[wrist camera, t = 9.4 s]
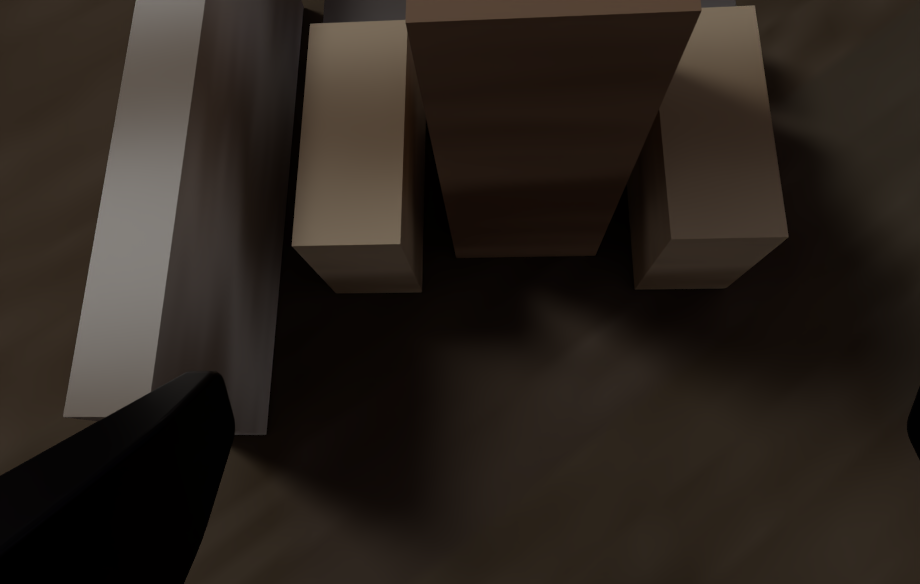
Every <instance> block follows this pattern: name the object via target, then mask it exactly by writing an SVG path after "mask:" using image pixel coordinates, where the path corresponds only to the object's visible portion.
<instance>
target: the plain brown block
mask: <svg viewBox="0 0 920 584" xmlns="http://www.w3.org/2000/svg"><path fill="white" fill-rule="evenodd" d="M701 11H702V9H701V0H406V19H405V23H406V28H407V33H408V37H409V42H410V46H411V51H412V56H413V60H414V65H415V70H416V74H417V79H418V83H419V88H420V93H421V97H422V102H423V107H424V111H425V116H426V121H427V125H428V130H429V134H430V139H431V144H432V148H433V153H434V158H435V162H436V167H437V171H438V176H439V181H440V185H441V190H442V195H443V199H444V204H445V209H446V213H447V218H448V222H449V227H450V232H451V236H452V241H453V246H454V250H455V255H456V258H492V257H550V256H595V255H596V253H597V251H598V248H599V246H600V244H601V242H602V239H603V237H604V235H605V232H606V230H607V228H608V225H609V223H610V221H611V219H612V216H613V214H614V212H615V209H616V207H617V205H618V202H619V200H620V198H621V196H622V193H623V191H624V189H625V186H626V184H627V182H628V179H629V177H630V175H631V172H632V170H633V168H634V166H635V163H636V161H637V159H638V156H639V154H640V152H641V149H642V147H643V145H644V143H645V140H646V138H647V136H648V133H649V131H650V129H651V126H652V124H653V122H654V120H655V117H656V115H657V113H658V110H659V108H660V106H661V103H662V101H663V99H664V96H665V94H666V92H667V90H668V87H669V85H670V83H671V80H672V78H673V76H674V73H675V71H676V69H677V67H678V64H679V62H680V60H681V57H682V55H683V53H684V50H685V48H686V46H687V44H688V41H689V39H690V37H691V34H692V32H693V30H694V27H695V25H696V23H697V20H698V18H699V16H700V14H701Z"/></svg>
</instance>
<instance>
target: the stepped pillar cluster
mask: <svg viewBox="0 0 920 584" xmlns="http://www.w3.org/2000/svg"><path fill="white" fill-rule="evenodd" d="M303 9H304V6H303V4H302V1H301V0H136V3H135V9H134V15H133V21H132V26H131V32H130V38H129V43H128V49H127V55H126V61H125V66H124V72H123V78H122V83H121V89H120V95H119V101H118V106H117V112H116V118H115V123H114V129H113V135H112V141H111V146H110V152H109V158H108V163H107V169H106V175H105V181H104V186H103V192H102V198H101V203H100V209H99V215H98V221H97V226H96V232H95V238H94V244H93V249H92V255H91V261H90V266H89V272H88V278H87V284H86V289H85V295H84V301H83V306H82V312H81V318H80V324H79V329H78V335H77V341H76V346H75V352H74V358H73V364H72V369H71V375H70V381H69V386H68V392H67V398H66V404H65V409H64V415H63V417H68V418H76V419H84V420H92V421H100V420H101V419H103V418H105V417H107V416H109V415H110V414H112V413H114V412H116V411H117V410H119V409H121V408H123V407H125V406H126V405H128V404H130V403H132V402H134V401H135V400H137V399H139V398H141V397H143V396H144V395H146V394H148V393H150V392H152V391H153V390H155V389H157V388H159V387H161V386H162V385H164V384H166V383H168V382H169V381H171V380H173V379H175V378H177V377H178V376H180V375H182V374H184V373H186V372H189V371H217V372H218V373H220V374H221V375H222V377H223V379H224V381H225V385H226V388H227V392H228V396H229V400H230V404H231V407H232V411H233V415H234V419H235V435H266V433H267V422H268V410H269V399H270V387H271V376H272V364H273V353H274V341H275V330H276V318H277V307H278V295H279V284H280V273H281V261H282V250H283V238H284V227H285V215H286V204H287V192H288V181H289V169H290V158H291V146H292V135H293V124H294V112H295V101H296V89H297V78H298V66H299V55H300V43H301V32H302V20H303ZM701 9H702V11H701V14H700V16H699V18H698V20H697V23H696V25H695V27H694V30H693V32H692V34H691V37H690V39H689V41H688V44H687V46H686V48H685V50H684V53H683V55H682V57H681V60H680V62H679V64H678V67H677V69H676V71H675V73H674V76H673V78H672V80H671V83H670V85H669V87H668V90H667V92H666V94H665V96H664V99H663V101H662V103H661V106H660V108H659V110H658V113H657V115H656V117H655V120H654V122H653V124H652V126H651V129H650V131H649V133H648V136H647V138H646V140H645V143H644V145H643V147H642V149H641V152H640V154H639V156H638V159H637V161H636V163H635V166H634V168H633V170H632V172H631V175H630V177H629V179H628V182H627V194H628V208H629V221H630V235H631V248H632V262H633V275H634V289H635V290H643V289H721V288H727V287H728V286H729V285H731V284H732V283H733V282H734V281H736V280H737V279H738V278H739V277H740V276H742V275H743V274H744V273H745V272H747V271H748V270H749V269H750V268H751V267H753V266H754V265H755V264H756V263H758V262H759V261H760V260H761V259H763V258H764V257H765V256H766V255H767V254H769V253H770V252H771V251H772V250H774V249H775V248H776V247H777V246H778V245H780V244H781V243H782V242H783V241H785V240H786V239H787V238H788V237H789V235H788V229H787V222H786V215H785V208H784V201H783V195H782V188H781V181H780V174H779V167H778V161H777V154H776V147H775V140H774V133H773V127H772V120H771V113H770V106H769V99H768V93H767V86H766V79H765V72H764V65H763V59H762V52H761V45H760V38H759V31H758V25H757V18H756V11H755V6H736V2H735V0H701ZM405 19H406V0H325V4H324V17H323V23H316V24H310V31H309V43H308V55H307V67H306V79H305V91H304V103H303V115H302V127H301V139H300V151H299V163H298V175H297V187H296V199H295V211H294V224H293V236H292V247H293V248H294V249H295V250H296V251H297V252H298V253H299V254H300V255H301V257H302V258H303V259H304V260H305V261H306V262H307V263H308V264H309V265H310V266H311V267H312V268H313V269H314V270H315V271H316V272H317V274H318V275H319V276H320V277H321V278H322V279H323V280H324V281H325V282H326V283H327V284H328V285H329V286H330V287H331V288H332V290H333V291H334V292H335V293H410V292H422V273H423V228H424V184H425V139H426V116H425V111H424V107H423V102H422V97H421V93H420V88H419V83H418V79H417V74H416V70H415V65H414V60H413V56H412V51H411V46H410V42H409V37H408V33H407V28H406V23H405Z"/></svg>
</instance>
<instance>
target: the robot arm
mask: <svg viewBox="0 0 920 584" xmlns="http://www.w3.org/2000/svg"><path fill="white" fill-rule="evenodd" d="M907 432H908V436H909V439H910V441H911V443H912V445H913V447H914V449H915V451H916V453H917V456H918V458H919V460H920V387H919V390H918V392H917V395H916V398H915V400H914V403H913V406H912V409H911V411H910V414H909V417H908V421H907ZM234 435H235V419H234V415H233V411H232V407H231V404H230V400H229V396H228V392H227V388H226V385H225V381H224V379H223V377H222V375H221V374H220V373H218V372H217V371H189V372H186V373H184V374H182V375H180V376H178V377H177V378H175V379H173V380H171V381H169V382H168V383H166V384H164V385H162V386H161V387H159V388H157V389H155V390H153V391H152V392H150V393H148V394H146V395H144V396H143V397H141V398H139V399H137V400H135V401H134V402H132V403H130V404H128V405H126V406H125V407H123V408H121V409H119V410H117V411H116V412H114V413H112V414H110V415H109V416H107V417H105V418H103V419H101V420H100V421H98V422H96V423H94V424H92V425H91V426H89V427H87V428H85V429H83V430H82V431H80V432H78V433H76V434H74V435H73V436H71V437H69V438H67V439H65V440H64V441H62V442H60V443H58V444H57V445H55V446H53V447H51V448H49V449H48V450H46V451H44V452H42V453H40V454H39V455H37V456H35V457H33V458H31V459H30V460H28V461H26V462H24V463H22V464H21V465H19V466H17V467H15V468H13V469H12V470H10V471H8V472H6V473H5V474H3V475H1V476H0V584H184V582H185V580H186V577H187V575H188V573H189V570H190V568H191V566H192V563H193V561H194V559H195V556H196V554H197V551H198V549H199V546H200V544H201V542H202V539H203V536H204V533H205V530H206V527H207V524H208V521H209V518H210V514H211V511H212V508H213V505H214V501H215V498H216V495H217V492H218V488H219V485H220V482H221V479H222V475H223V472H224V469H225V465H226V462H227V459H228V456H229V452H230V449H231V446H232V443H233V439H234Z"/></svg>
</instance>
